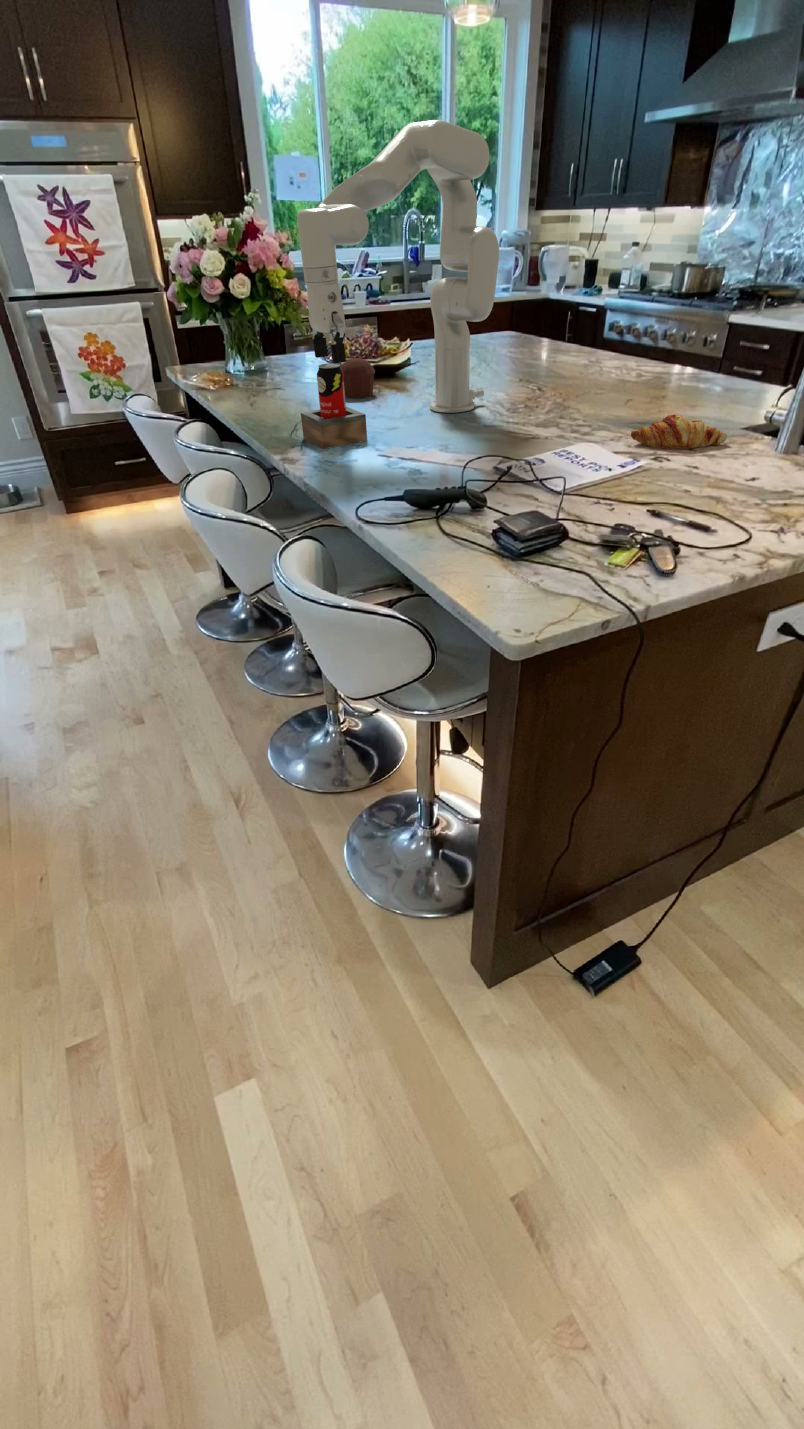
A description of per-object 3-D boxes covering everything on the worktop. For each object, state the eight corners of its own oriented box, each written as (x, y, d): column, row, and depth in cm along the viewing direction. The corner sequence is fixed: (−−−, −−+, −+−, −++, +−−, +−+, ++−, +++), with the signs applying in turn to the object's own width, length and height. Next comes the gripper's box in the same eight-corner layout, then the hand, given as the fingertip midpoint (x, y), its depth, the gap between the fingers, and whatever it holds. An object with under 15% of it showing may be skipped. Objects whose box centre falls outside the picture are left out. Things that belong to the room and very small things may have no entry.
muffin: (356, 389, 230) (353, 354, 224) (383, 392, 224) (382, 357, 218) (331, 397, 222) (328, 361, 216) (359, 400, 216) (357, 364, 211)
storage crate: (345, 430, 189) (343, 405, 185) (367, 440, 180) (365, 414, 176) (303, 438, 184) (300, 412, 180) (323, 449, 175) (320, 422, 172)
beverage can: (322, 415, 182) (317, 363, 175) (347, 414, 182) (343, 362, 175) (319, 422, 177) (314, 368, 170) (345, 421, 177) (341, 367, 170)
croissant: (718, 456, 170) (722, 421, 169) (732, 447, 160) (736, 409, 159) (625, 454, 173) (629, 419, 172) (634, 445, 163) (637, 407, 162)
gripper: (353, 276, 157) (361, 362, 167) (319, 271, 169) (329, 352, 179) (322, 280, 154) (331, 367, 164) (290, 275, 166) (301, 357, 177)
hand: (330, 359), depth 172 cm, fingers open, 9 cm apart
